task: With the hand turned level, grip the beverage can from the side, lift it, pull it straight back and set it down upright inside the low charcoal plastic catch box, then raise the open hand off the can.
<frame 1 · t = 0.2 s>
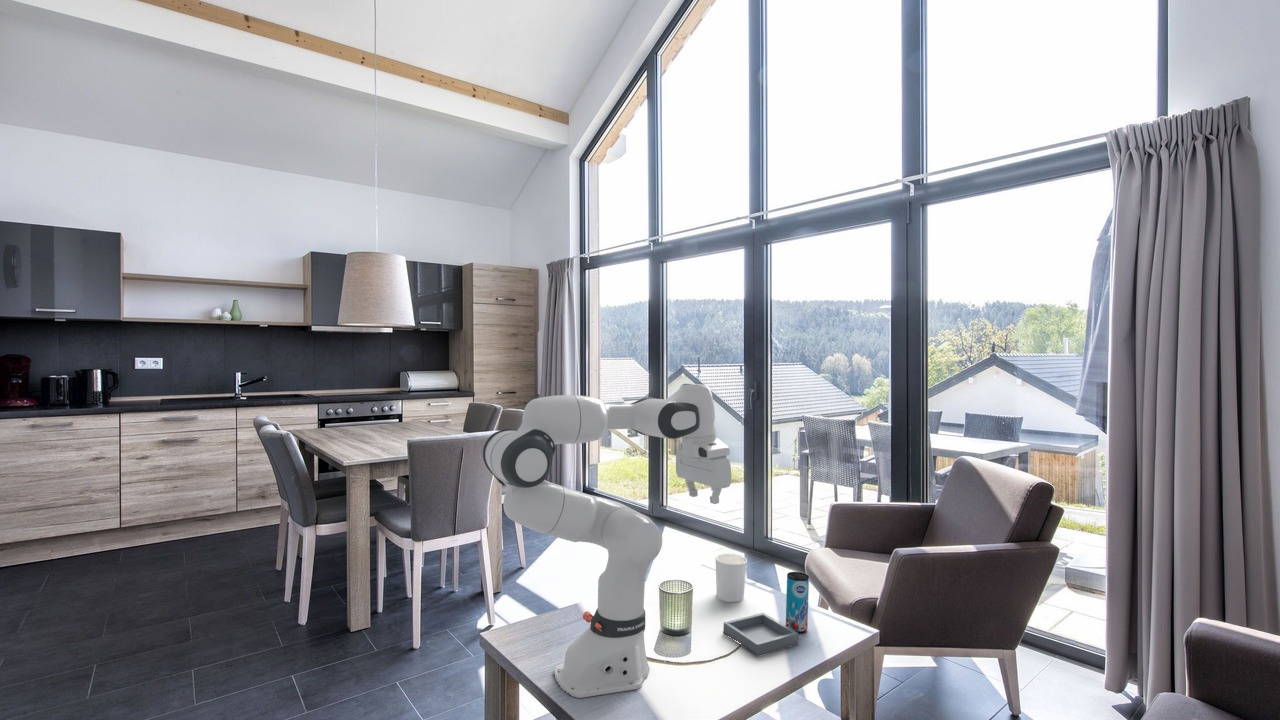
hand: (703, 499, 156), 39 cm above the table, tool pointing down, fingers open, 8 cm apart
candle holder: (730, 597, 191), on the table
catch box: (760, 638, 163), on the table
beverage can: (796, 629, 170), on the table
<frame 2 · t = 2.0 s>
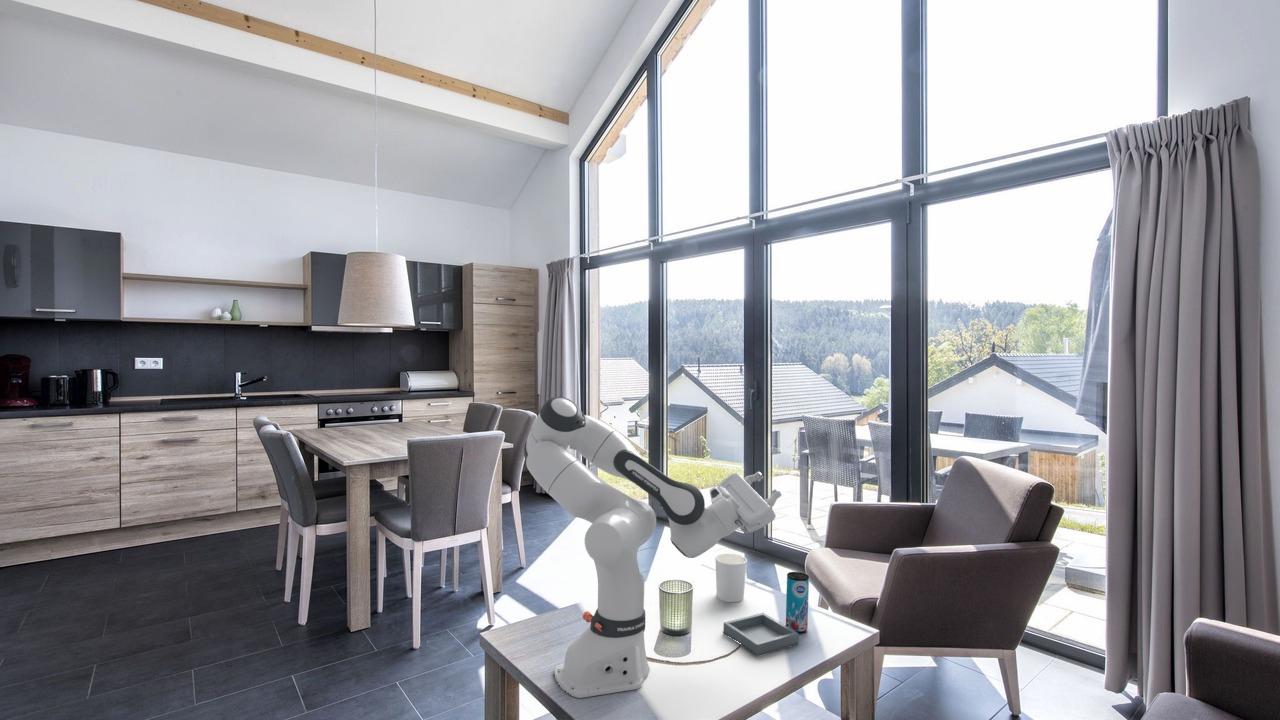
hand: (770, 482, 161), 42 cm above the table, tool pointing upward, fingers open, 8 cm apart
nothing on the table moved.
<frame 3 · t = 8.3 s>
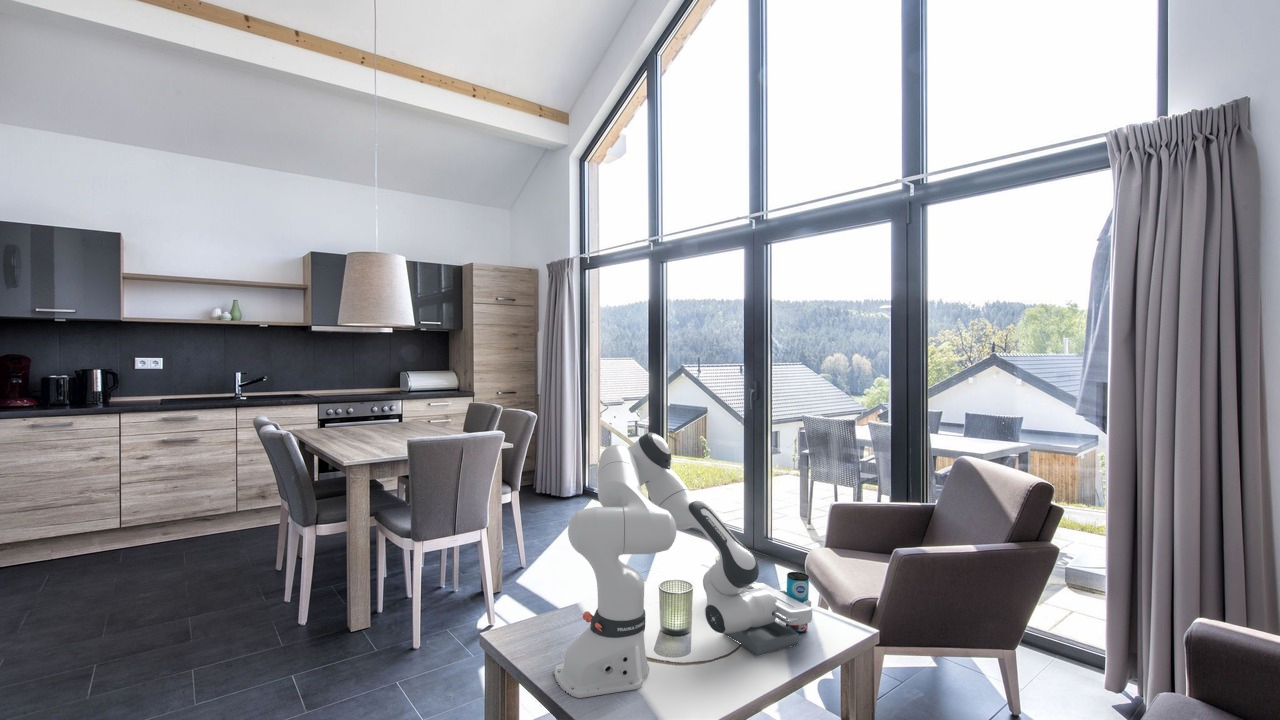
hand: (799, 598, 170), 9 cm above the table, tool horizontal, fingers closed on beverage can, 6 cm apart
beverage can: (796, 629, 170), on the table, touching gripper
everything else where it was.
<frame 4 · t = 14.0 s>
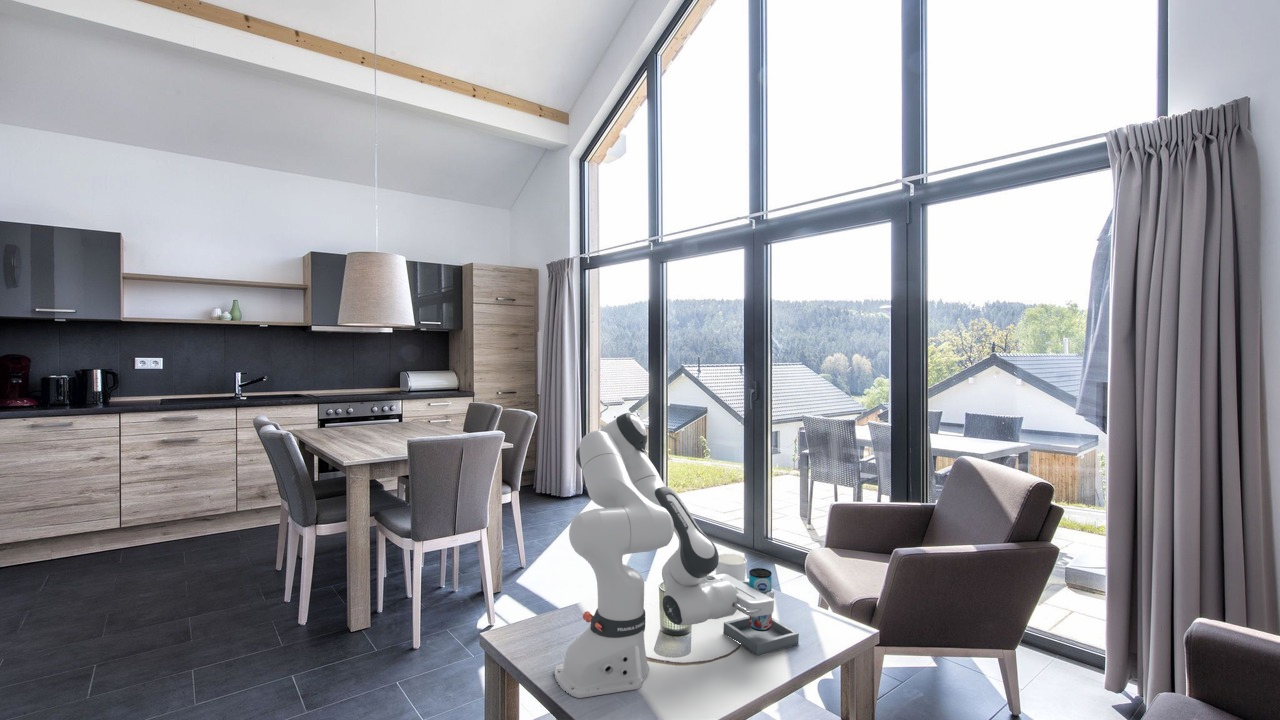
hand: (763, 589, 164), 13 cm above the table, tool horizontal, fingers closed on beverage can, 6 cm apart
beverage can: (760, 627, 164), point 3 cm above the table, touching gripper
everything else where it was.
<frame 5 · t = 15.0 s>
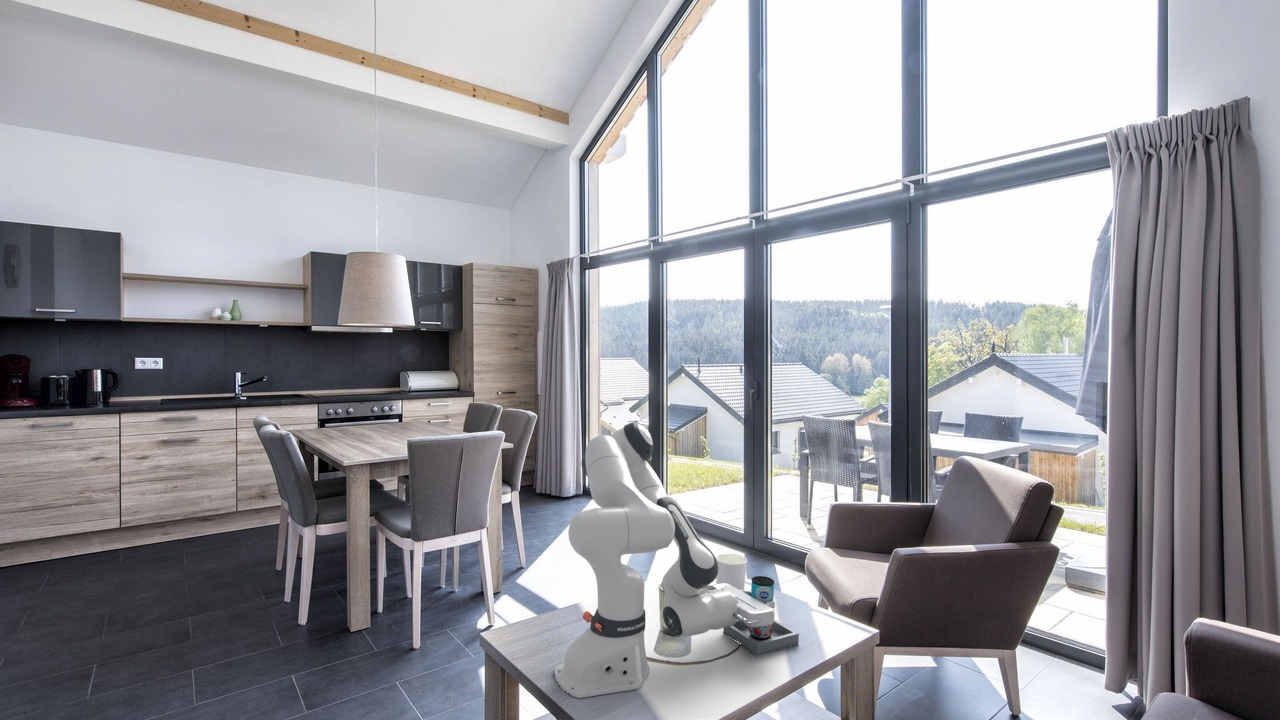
hand: (763, 598, 164), 11 cm above the table, tool horizontal, fingers closed on beverage can, 6 cm apart
beverage can: (760, 635, 164), resting on catch box, touching gripper
everything else where it was.
when the fingers open (11 cm above the table, at t = 15.6 s): beverage can stays where it is, resting on catch box.
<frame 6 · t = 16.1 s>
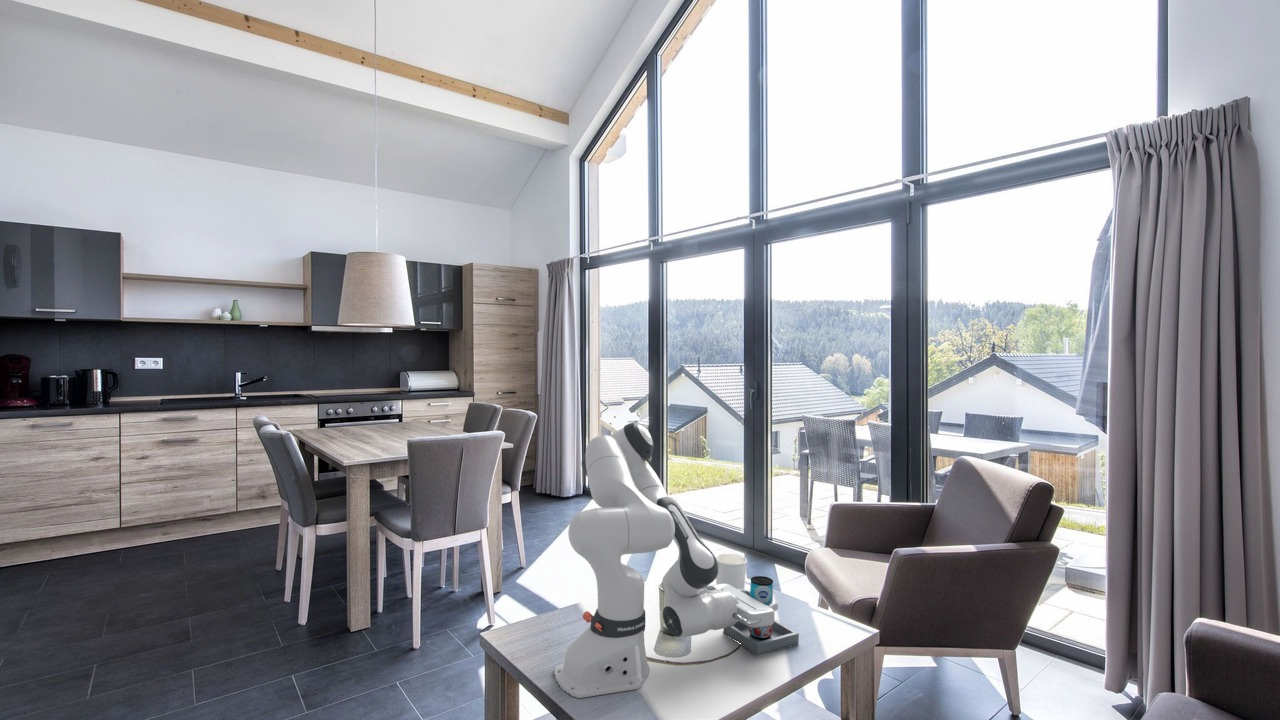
hand: (763, 599, 164), 11 cm above the table, tool horizontal, fingers open, 8 cm apart
beverage can: (760, 636, 164), resting on catch box
everything else where it was.
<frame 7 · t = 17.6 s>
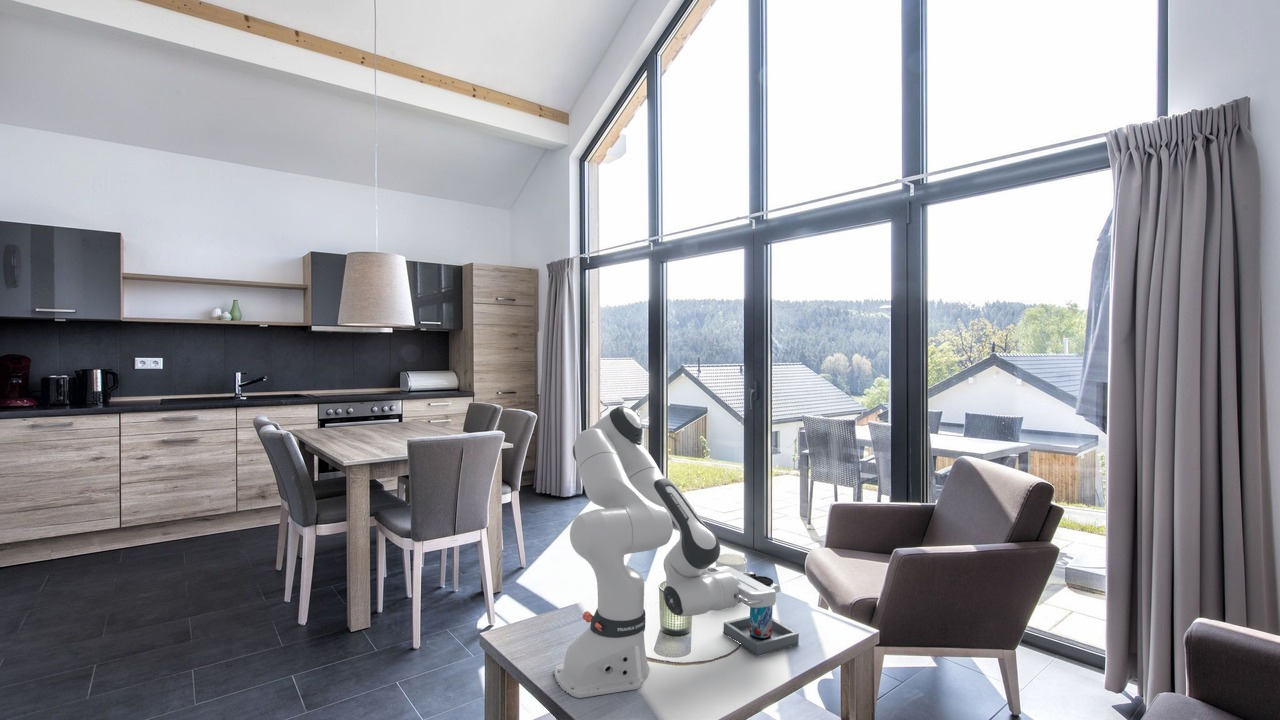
hand: (765, 581, 163), 16 cm above the table, tool horizontal, fingers open, 8 cm apart
nothing on the table moved.
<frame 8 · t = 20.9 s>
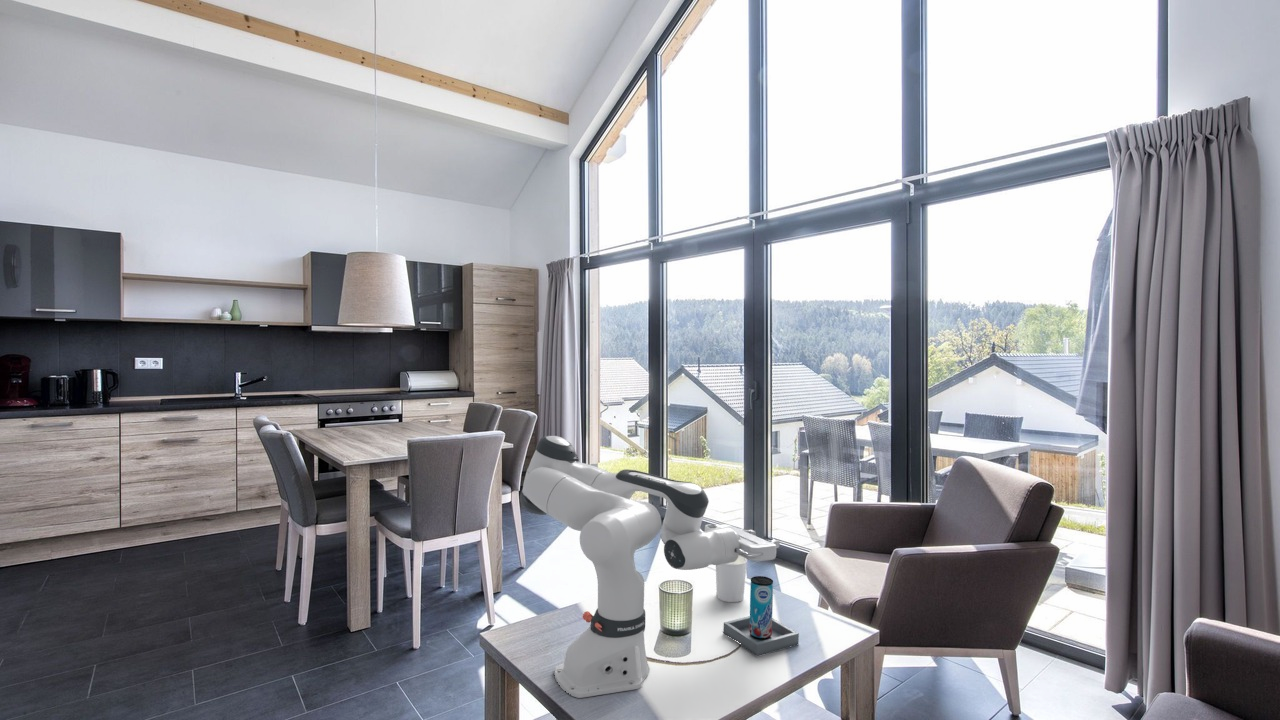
hand: (765, 538, 163), 27 cm above the table, tool horizontal, fingers open, 8 cm apart
nothing on the table moved.
at the end: beverage can inside the target area on the catch box (0.7 cm from its centre), point 0.4 cm above the catch box's base; beverage can tilted 0°; the gripper is holding nothing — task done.
